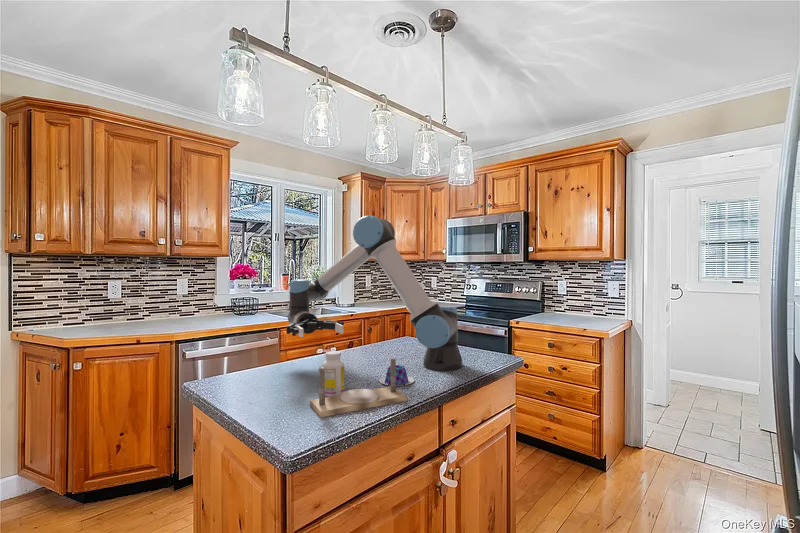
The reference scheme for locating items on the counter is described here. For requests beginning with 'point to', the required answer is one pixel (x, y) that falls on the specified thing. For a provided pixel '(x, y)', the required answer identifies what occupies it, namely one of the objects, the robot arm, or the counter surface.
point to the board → (356, 396)
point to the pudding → (397, 376)
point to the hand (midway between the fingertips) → (322, 331)
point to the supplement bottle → (334, 374)
